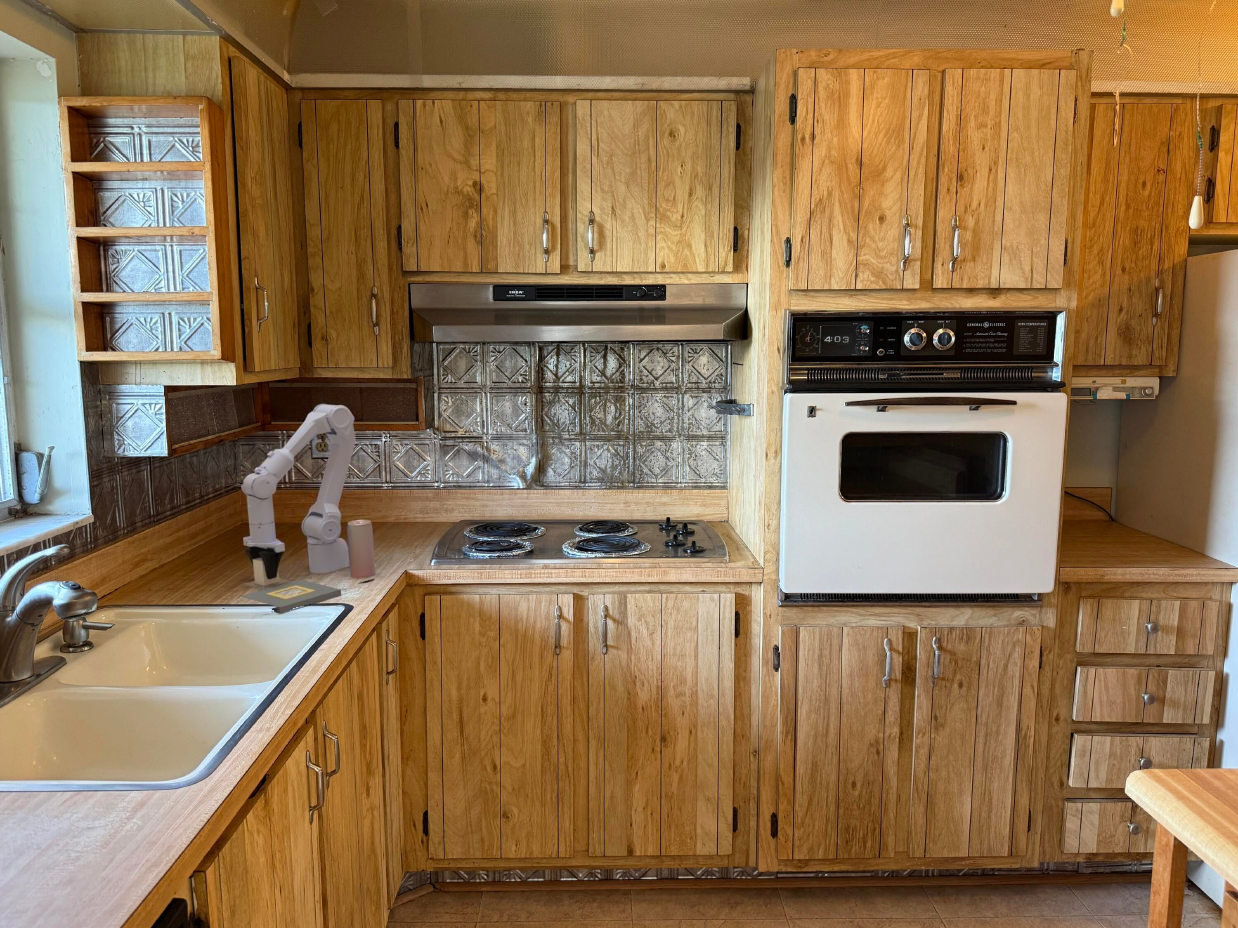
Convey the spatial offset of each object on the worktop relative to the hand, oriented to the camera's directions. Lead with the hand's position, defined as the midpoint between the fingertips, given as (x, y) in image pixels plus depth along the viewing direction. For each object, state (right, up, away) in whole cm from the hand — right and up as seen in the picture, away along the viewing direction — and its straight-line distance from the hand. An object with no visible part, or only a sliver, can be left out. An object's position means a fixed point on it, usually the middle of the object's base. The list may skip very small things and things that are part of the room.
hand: (266, 576), depth 213 cm
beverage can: (+22, -2, +5) cm, 23 cm away
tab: (0, -3, 0) cm, 3 cm away
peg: (0, -1, 0) cm, 1 cm away
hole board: (+9, -4, -9) cm, 13 cm away
